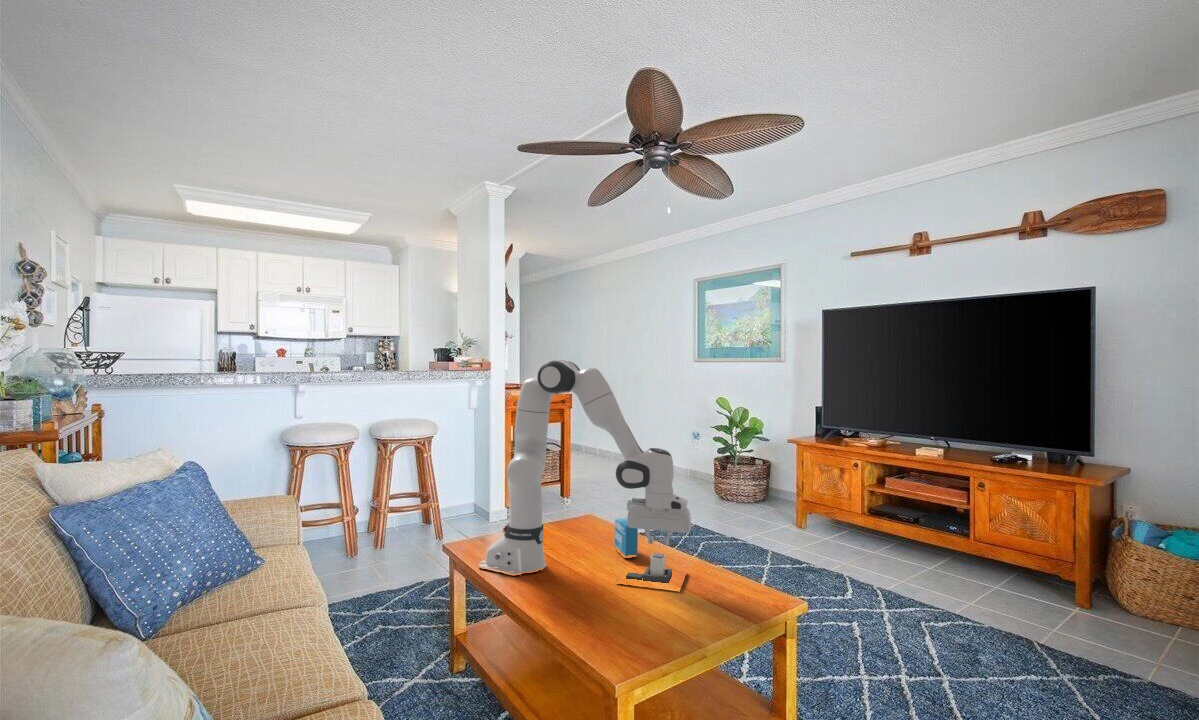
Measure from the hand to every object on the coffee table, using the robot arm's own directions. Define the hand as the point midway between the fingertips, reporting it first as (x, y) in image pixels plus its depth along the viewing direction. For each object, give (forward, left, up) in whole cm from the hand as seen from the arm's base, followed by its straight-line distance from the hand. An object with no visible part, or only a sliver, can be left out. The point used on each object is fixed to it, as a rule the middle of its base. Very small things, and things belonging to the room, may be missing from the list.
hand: (658, 544), depth 183 cm
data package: (-16, +23, -12) cm, 31 cm away
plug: (0, 0, -11) cm, 11 cm away
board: (-2, +2, -12) cm, 12 cm away
